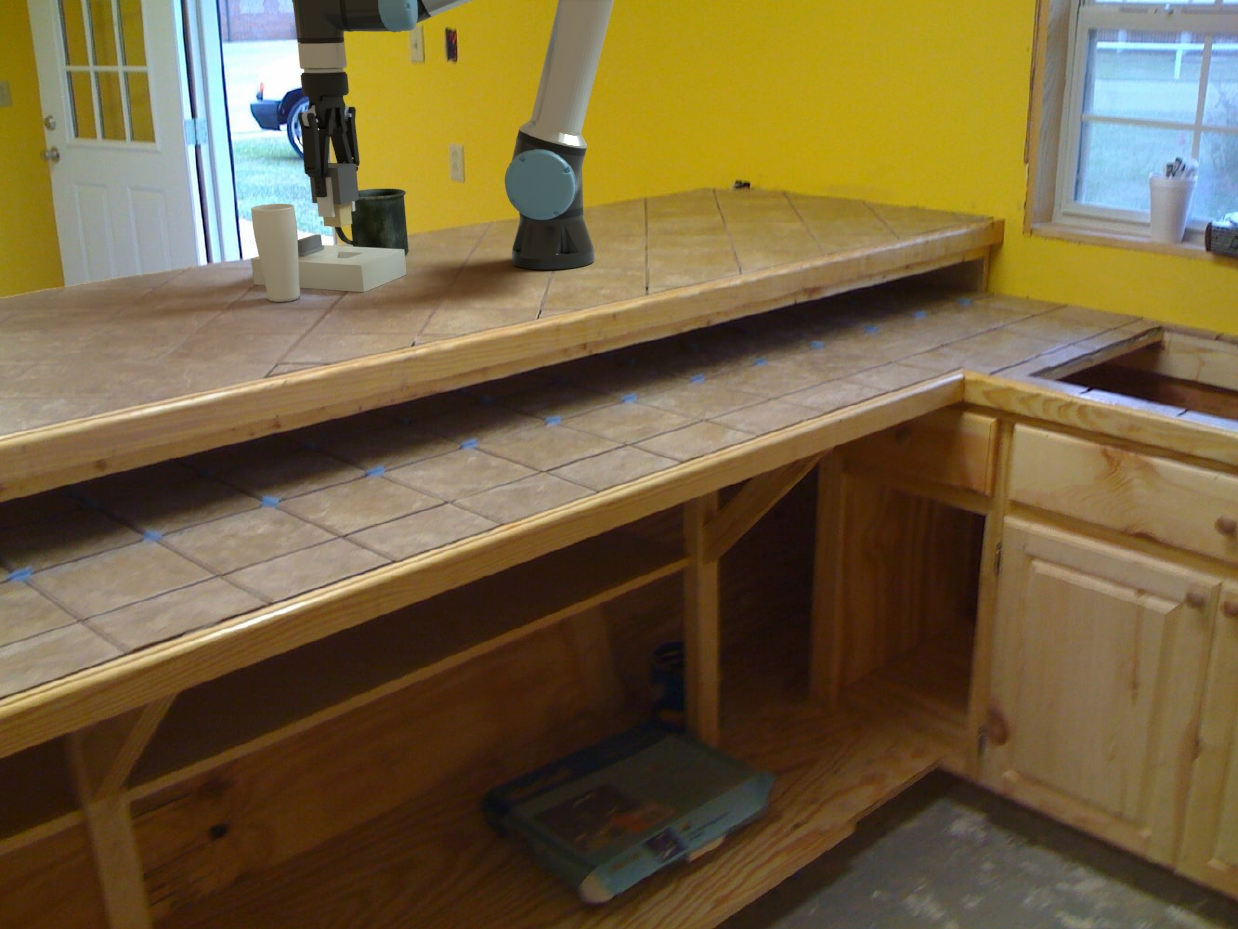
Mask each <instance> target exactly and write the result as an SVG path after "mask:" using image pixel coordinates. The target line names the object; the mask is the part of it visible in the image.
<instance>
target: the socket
mask: <svg viewBox="0 0 1238 929" xmlns="http://www.w3.org/2000/svg"><path fill="white" fill-rule="evenodd" d="M322 246H324V249H323V250H320V251H317V252H314V253H311V254H308V255H305V256H298V264H299V286H300V289H313V290H315V289H316V290H326V291H327V290H328V291H342V292H343V291H345V292H356V293H365V292H368V291H370V290H372V289H375V288H377V287H380V286H382V285H385V284H387V283H390V282H393V281H395V280H397V279H399V278H402V277H404V276H407V265H406V264H407V263H406V256H405V252H404V249H387V248H369V247H353V246H352V245H349V246H346V245H345V246H344V245H331V244H329V245H328V244H322ZM250 262H251V269H252V278H253V284H254V285H256V286H257V285H259V286H265V282H264V277H263V273H262V268H261V264H260V259H259V255H258V256H255V257H253V258H250Z"/></svg>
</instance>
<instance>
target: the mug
mask: <svg viewBox="0 0 1238 929" xmlns="http://www.w3.org/2000/svg"><path fill="white" fill-rule="evenodd" d="M358 194H359V200H356V201H355V211H351V217H352V224H350V229H351V230H350V231H351V239H352V240H350V239H349V238H348V237H347V236H346V235H345V232H344V231H343V227H334V229H335V232H336V235H337V236H338V238H339V240H341V241H342V243H343V242H344V243H346V245H349V246H352V247H369V248H387V249H404V252H405V257H406V256H407V255H408V254H409V251H410V250H409V240H408V238H409V237H408V228H407V217H406V206H405V195H406V194H407V192H406V191H405V190H404V189H401V188H369V189H367V188H366V189H358Z"/></svg>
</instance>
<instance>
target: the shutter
mask: <svg viewBox="0 0 1238 929" xmlns="http://www.w3.org/2000/svg"><path fill="white" fill-rule="evenodd" d="M322 245H323V242H322V234H320V233H319V234H316V233H315V234H312V235H309V236H306V237H303V238H300V239H299V238H298V256H305V255H308V254H311V253H314V252H317V251H320V250H323V249H324V246H322Z"/></svg>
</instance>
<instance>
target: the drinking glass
mask: <svg viewBox="0 0 1238 929" xmlns="http://www.w3.org/2000/svg"><path fill="white" fill-rule="evenodd" d="M251 222H252V229H253V235H254V240H255V246H256V248H257V254H258V256H259V259H260V264H261V268H262V273H263V277H264V282H265V285H264V286H265V294H266V298H267V300H268V301H270V302H273V303H274V302H275V303H287V302H294V301H296V300H298V299H299V298H300V297H301V288H300V286H299V264H298V240H299V237H298V225H297V217H296V211H295V206H294V205H293V204H291V203H271V204H270V203H269V204H261V205H256V206H253V207H251Z"/></svg>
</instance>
